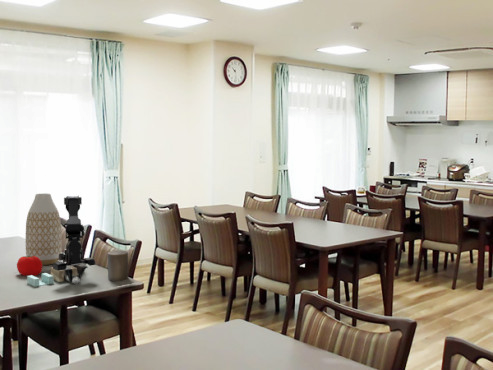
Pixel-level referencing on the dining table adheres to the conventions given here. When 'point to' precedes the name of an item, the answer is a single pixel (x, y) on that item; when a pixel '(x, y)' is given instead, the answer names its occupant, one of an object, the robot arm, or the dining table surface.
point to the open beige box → (61, 274)
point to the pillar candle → (117, 265)
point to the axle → (74, 278)
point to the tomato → (29, 265)
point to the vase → (43, 230)
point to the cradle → (45, 280)
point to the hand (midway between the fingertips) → (74, 281)
